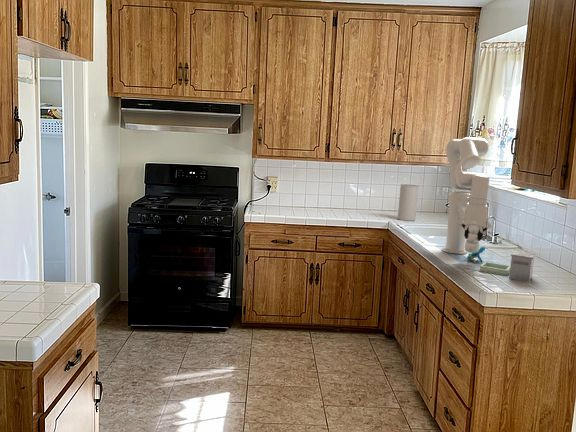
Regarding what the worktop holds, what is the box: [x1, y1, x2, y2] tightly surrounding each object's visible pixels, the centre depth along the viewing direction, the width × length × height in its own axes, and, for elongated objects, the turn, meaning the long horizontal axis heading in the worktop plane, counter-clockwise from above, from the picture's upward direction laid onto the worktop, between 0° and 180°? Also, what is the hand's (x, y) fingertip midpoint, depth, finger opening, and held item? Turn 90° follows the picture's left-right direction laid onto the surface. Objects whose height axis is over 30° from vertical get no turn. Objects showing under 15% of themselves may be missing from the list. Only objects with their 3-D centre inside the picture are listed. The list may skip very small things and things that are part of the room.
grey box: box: [508, 250, 537, 283], centre depth 242 cm, size 11×9×11 cm
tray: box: [479, 261, 511, 276], centre depth 253 cm, size 12×12×2 cm
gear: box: [466, 246, 486, 263], centre depth 272 cm, size 11×6×10 cm
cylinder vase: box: [397, 183, 420, 222], centre depth 399 cm, size 12×12×25 cm
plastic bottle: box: [464, 221, 480, 254], centre depth 262 cm, size 6×7×20 cm
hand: (472, 239), depth 263 cm, fingers closed on plastic bottle, 5 cm apart
